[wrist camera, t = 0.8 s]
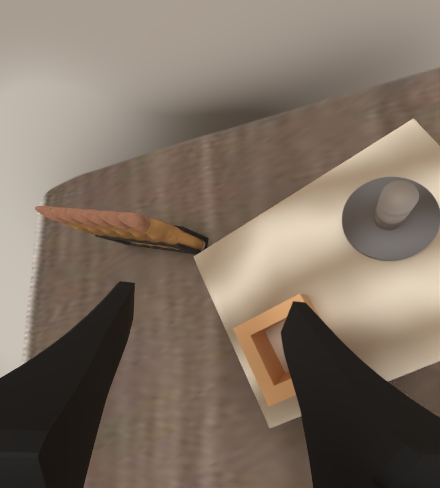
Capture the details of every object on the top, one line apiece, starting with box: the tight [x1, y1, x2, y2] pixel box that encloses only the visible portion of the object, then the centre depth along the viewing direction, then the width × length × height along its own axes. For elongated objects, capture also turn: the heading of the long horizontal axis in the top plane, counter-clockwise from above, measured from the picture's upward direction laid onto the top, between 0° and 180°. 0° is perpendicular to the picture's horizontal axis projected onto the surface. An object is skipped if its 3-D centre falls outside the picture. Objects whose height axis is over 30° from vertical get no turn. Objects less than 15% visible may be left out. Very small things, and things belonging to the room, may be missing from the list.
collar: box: [233, 294, 319, 407], centre depth 21 cm, size 6×6×4 cm
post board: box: [194, 119, 440, 428], centre depth 21 cm, size 16×22×7 cm
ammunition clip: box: [35, 206, 208, 254], centre depth 26 cm, size 11×2×12 cm, turn 80°
